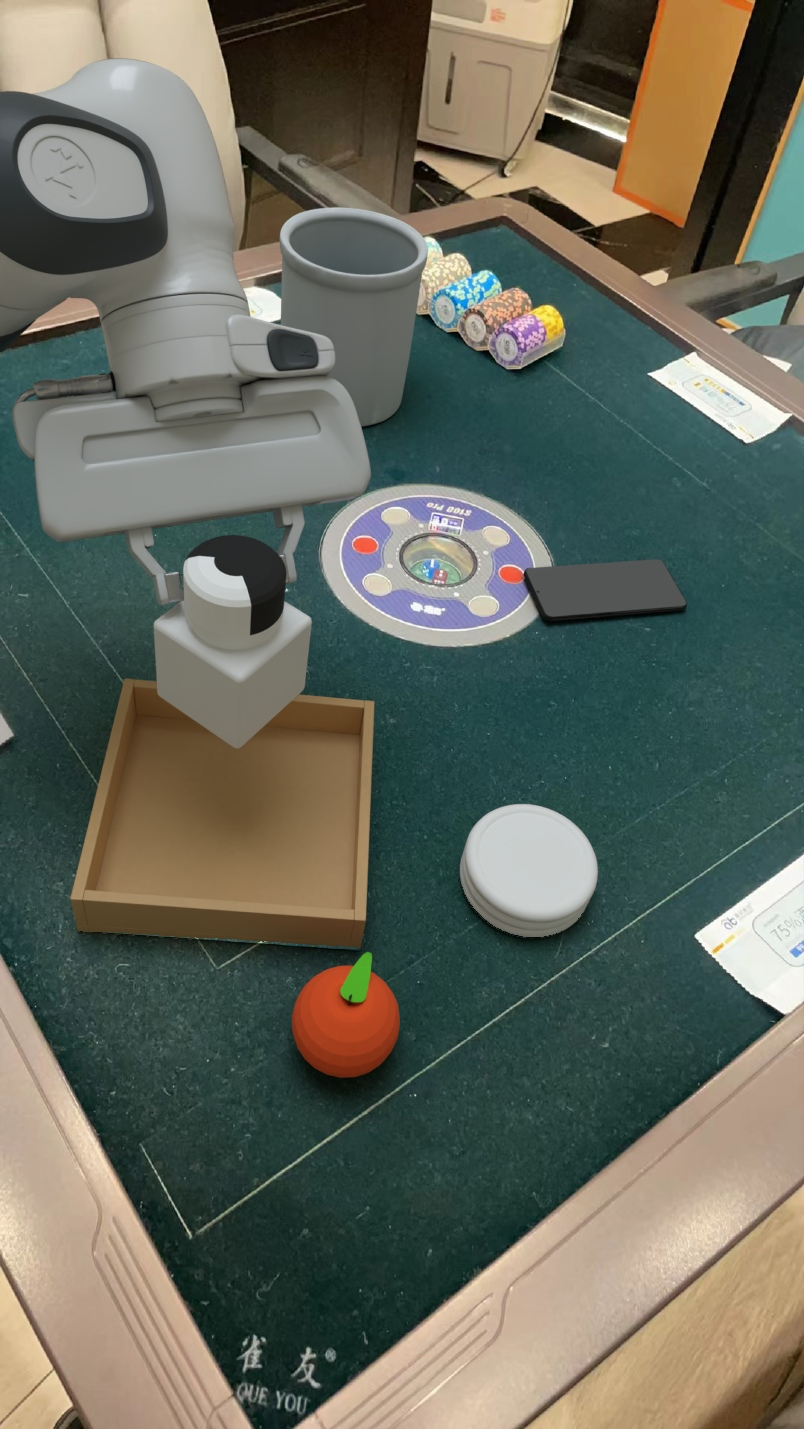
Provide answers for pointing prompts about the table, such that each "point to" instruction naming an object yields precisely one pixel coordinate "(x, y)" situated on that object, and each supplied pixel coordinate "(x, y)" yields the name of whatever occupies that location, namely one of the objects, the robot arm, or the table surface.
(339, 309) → the utensil holder
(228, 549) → the medicine bottle
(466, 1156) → the table surface
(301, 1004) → the clementine
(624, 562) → the smartphone
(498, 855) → the white round disc
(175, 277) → the robot arm
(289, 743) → the bin
